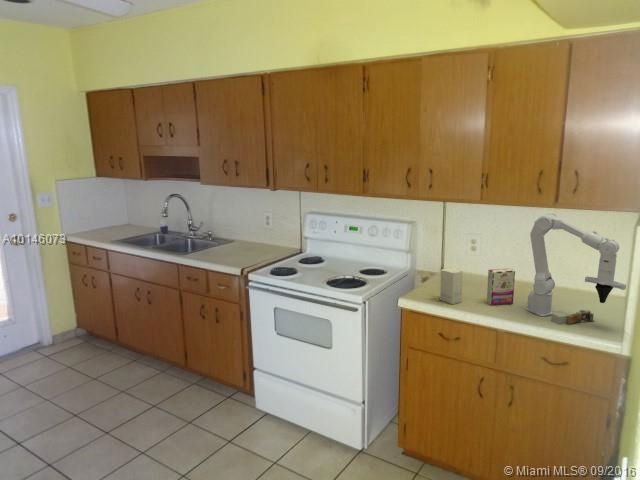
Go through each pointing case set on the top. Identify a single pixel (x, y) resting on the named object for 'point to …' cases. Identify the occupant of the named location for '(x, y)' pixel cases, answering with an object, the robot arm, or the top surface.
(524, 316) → the top surface
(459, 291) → the skincare box
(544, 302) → the robot arm
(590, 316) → the gate posts
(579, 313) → the gate
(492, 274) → the candy bar box
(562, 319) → the doorstop block
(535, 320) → the top surface
